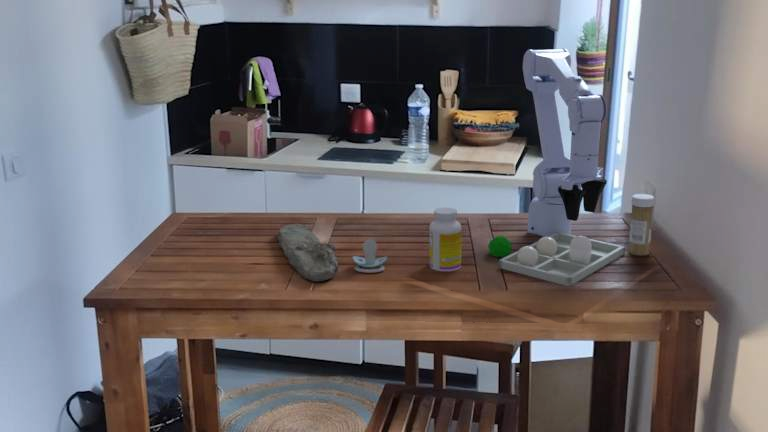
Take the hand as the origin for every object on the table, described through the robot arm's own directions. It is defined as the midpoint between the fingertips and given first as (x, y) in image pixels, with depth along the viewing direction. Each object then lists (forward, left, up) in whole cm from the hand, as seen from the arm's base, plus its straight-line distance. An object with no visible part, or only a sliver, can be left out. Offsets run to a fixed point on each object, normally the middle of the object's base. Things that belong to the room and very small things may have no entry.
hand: (580, 215), depth 168 cm
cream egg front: (-4, -14, -9) cm, 17 cm away
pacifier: (-31, -34, -10) cm, 47 cm away
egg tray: (-1, -6, -9) cm, 11 cm away
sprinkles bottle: (+10, +9, -10) cm, 16 cm away
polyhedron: (-13, -11, -10) cm, 20 cm away
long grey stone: (-47, -37, -10) cm, 61 cm away
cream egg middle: (-4, -6, -9) cm, 11 cm away
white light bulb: (+3, -6, -8) cm, 11 cm away
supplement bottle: (-18, -24, -10) cm, 31 cm away
